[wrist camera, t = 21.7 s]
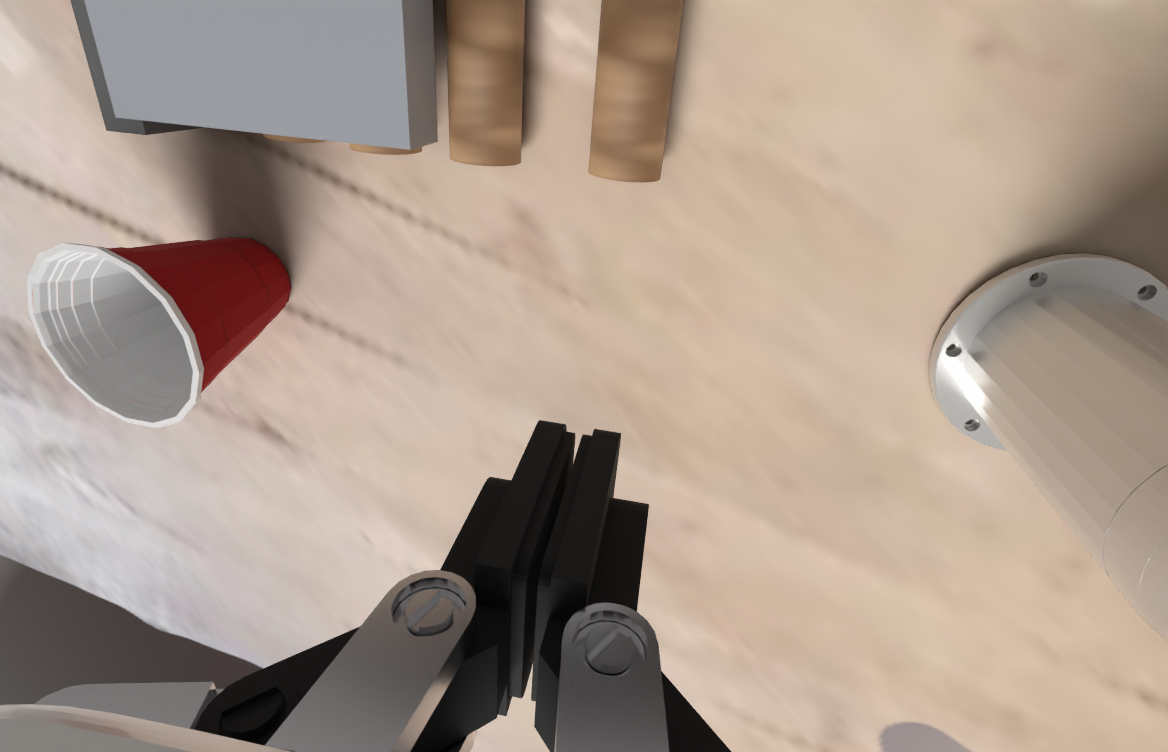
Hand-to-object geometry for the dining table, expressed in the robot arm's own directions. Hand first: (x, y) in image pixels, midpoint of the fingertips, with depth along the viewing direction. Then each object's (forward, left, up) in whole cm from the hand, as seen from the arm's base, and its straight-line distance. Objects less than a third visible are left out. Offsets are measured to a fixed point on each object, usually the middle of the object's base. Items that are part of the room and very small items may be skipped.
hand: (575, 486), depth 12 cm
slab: (+20, -8, -23) cm, 32 cm away
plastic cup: (+28, +8, -27) cm, 40 cm away
